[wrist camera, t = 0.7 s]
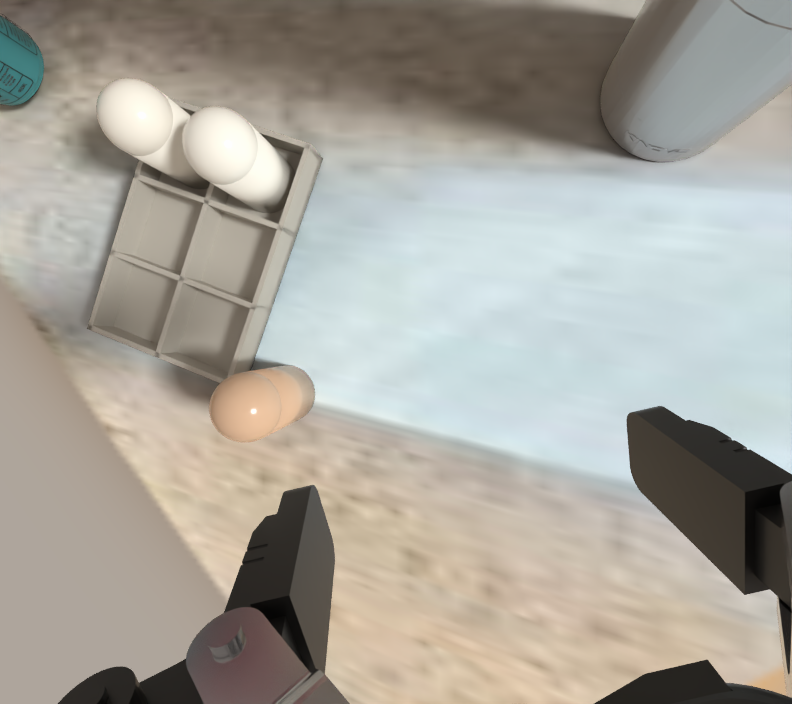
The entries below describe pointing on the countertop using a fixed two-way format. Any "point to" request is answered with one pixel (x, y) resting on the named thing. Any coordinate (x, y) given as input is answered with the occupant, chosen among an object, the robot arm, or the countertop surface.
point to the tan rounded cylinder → (260, 402)
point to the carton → (200, 266)
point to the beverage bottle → (18, 65)
